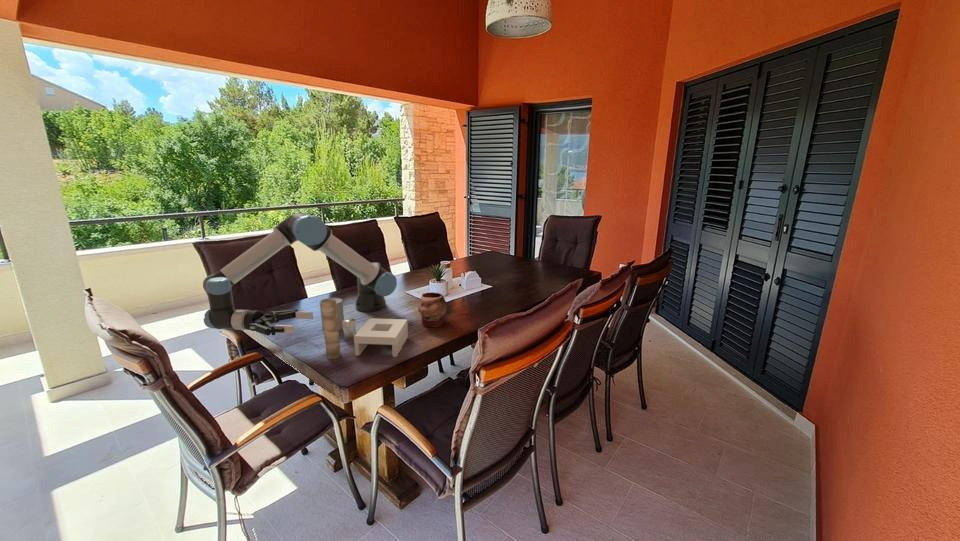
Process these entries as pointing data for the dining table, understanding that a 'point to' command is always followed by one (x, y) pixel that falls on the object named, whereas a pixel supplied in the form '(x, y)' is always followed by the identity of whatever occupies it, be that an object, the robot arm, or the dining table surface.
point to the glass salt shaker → (349, 329)
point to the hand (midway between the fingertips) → (303, 322)
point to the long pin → (331, 328)
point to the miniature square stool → (382, 334)
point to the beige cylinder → (339, 312)
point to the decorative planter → (432, 309)
